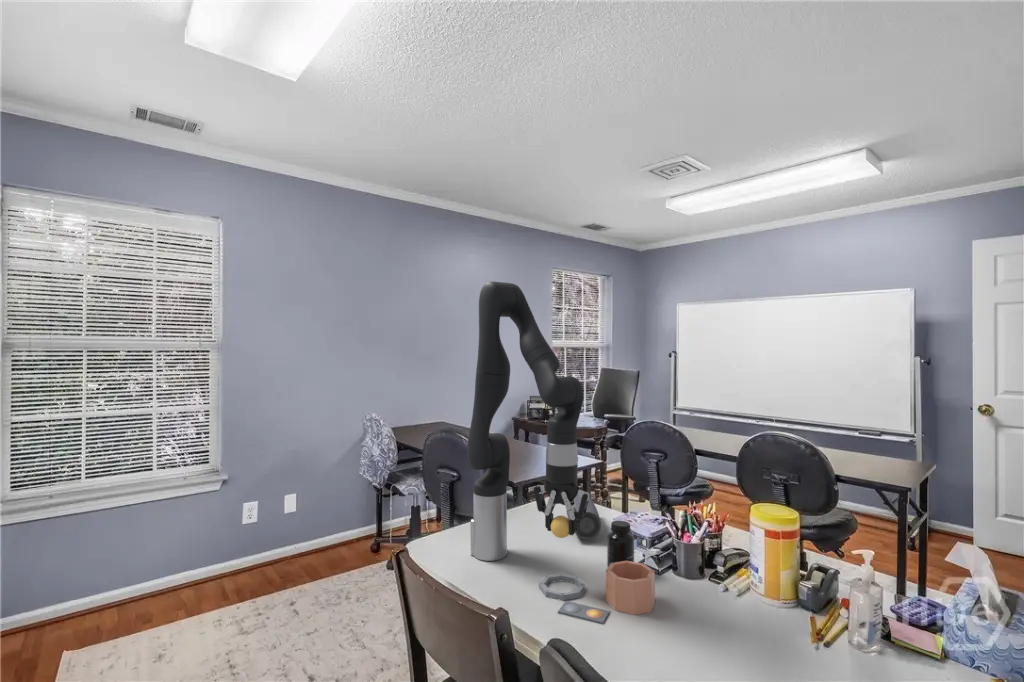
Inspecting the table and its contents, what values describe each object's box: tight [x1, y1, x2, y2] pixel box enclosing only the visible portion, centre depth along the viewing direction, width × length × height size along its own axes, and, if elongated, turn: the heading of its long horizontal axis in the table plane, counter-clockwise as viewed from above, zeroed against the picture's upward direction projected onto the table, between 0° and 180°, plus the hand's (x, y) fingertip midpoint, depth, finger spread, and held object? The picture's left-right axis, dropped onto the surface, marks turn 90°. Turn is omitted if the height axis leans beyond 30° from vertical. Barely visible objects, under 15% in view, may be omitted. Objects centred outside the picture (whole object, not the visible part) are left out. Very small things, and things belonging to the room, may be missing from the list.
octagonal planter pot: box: [605, 561, 656, 616], centre depth 114 cm, size 10×10×7 cm
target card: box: [557, 600, 610, 625], centre depth 109 cm, size 10×5×1 cm, turn 64°
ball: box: [550, 515, 570, 539], centre depth 120 cm, size 5×5×5 cm
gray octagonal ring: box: [538, 573, 586, 601], centre depth 120 cm, size 10×10×1 cm
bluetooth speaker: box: [565, 489, 602, 540], centre depth 159 cm, size 23×9×10 cm, turn 179°
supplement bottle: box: [606, 520, 635, 569], centre depth 130 cm, size 7×7×12 cm
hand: (561, 531), depth 120 cm, fingers closed on ball, 5 cm apart
